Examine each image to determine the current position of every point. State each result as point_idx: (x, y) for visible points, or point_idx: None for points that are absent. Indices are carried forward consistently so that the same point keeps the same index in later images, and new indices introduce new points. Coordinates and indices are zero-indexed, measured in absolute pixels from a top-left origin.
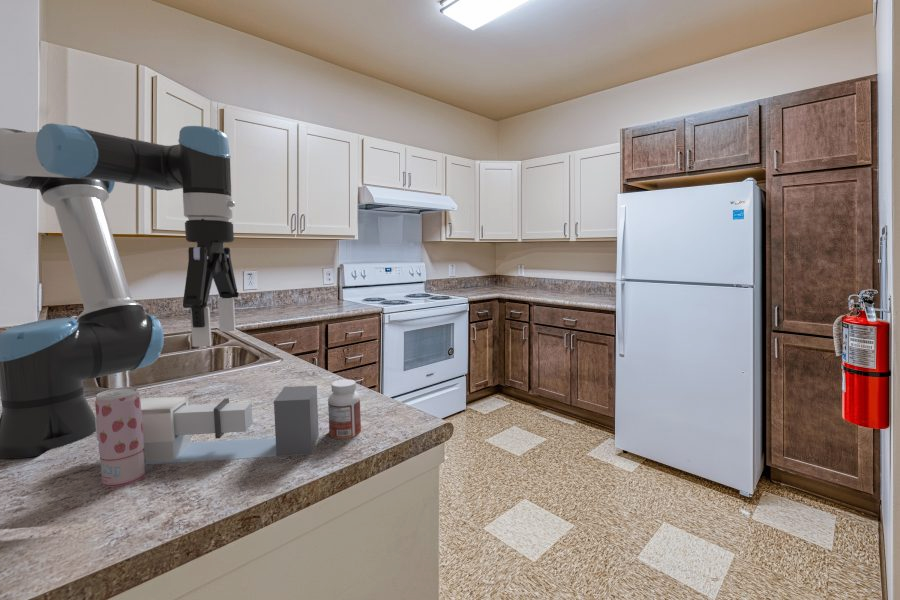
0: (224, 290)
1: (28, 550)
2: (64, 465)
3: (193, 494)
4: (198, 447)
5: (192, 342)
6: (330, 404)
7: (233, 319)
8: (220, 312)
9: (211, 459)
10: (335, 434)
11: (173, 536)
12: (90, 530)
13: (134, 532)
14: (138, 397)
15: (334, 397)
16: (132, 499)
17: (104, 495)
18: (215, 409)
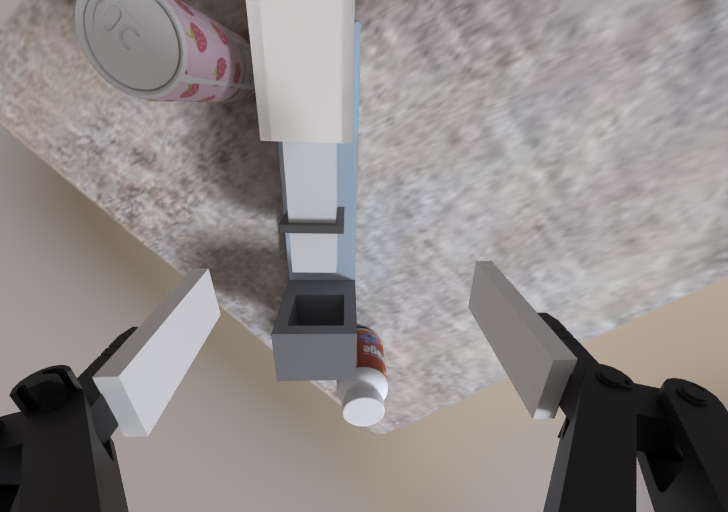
0: (565, 440)
1: (41, 25)
2: None
3: (200, 195)
4: None
5: (185, 277)
6: None
7: (486, 335)
8: (510, 313)
9: (285, 192)
10: None
11: (107, 208)
12: (100, 91)
13: (106, 157)
14: (162, 100)
15: (346, 385)
16: (181, 110)
17: None
18: (279, 227)
